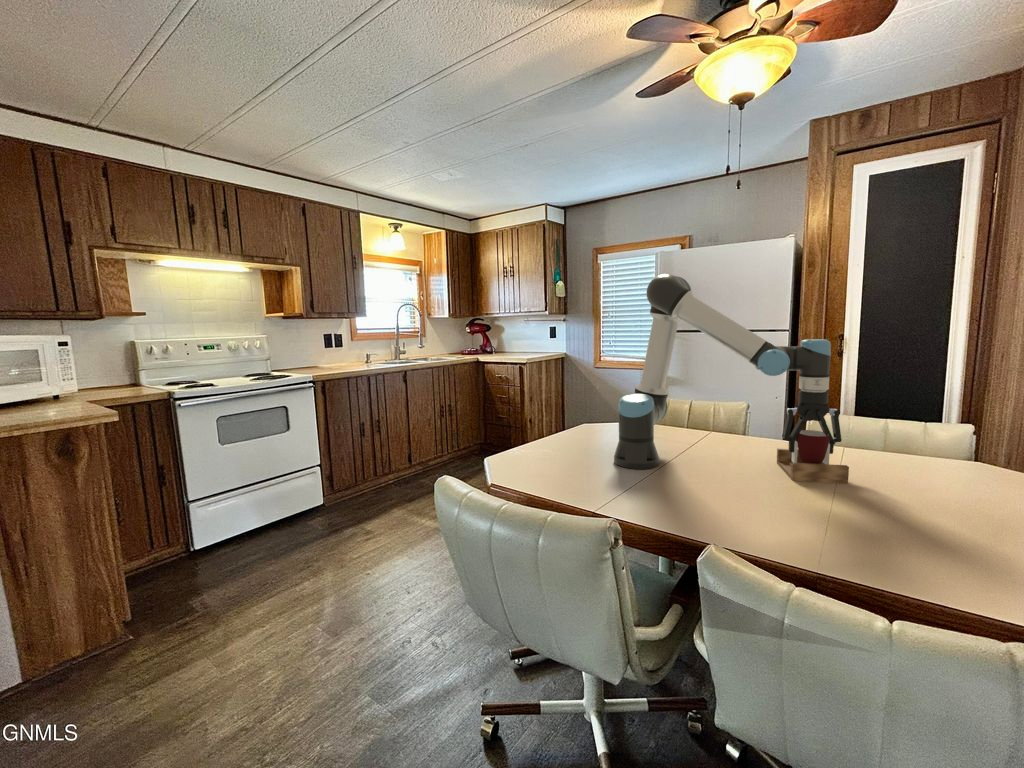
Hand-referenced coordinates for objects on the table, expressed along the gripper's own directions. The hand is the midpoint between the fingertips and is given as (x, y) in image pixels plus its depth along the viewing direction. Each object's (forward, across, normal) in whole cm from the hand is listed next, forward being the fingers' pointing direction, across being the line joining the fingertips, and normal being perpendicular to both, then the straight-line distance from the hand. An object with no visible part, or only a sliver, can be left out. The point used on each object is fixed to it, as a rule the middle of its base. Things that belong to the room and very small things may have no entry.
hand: (809, 462), depth 136 cm
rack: (+3, 0, 0) cm, 3 cm away
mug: (0, 0, 0) cm, 0 cm away
